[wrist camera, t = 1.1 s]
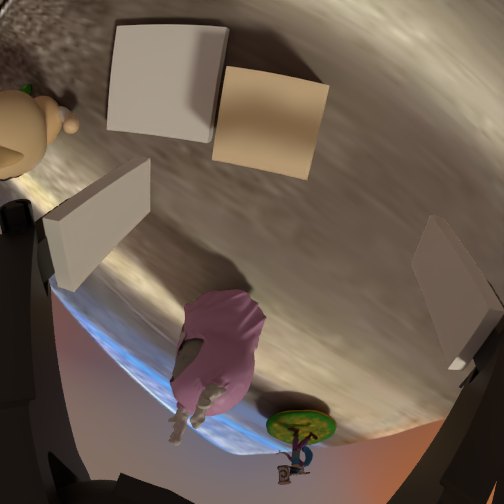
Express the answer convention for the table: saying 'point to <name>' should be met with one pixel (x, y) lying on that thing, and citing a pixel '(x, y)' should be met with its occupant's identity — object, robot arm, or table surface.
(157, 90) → the grey tile
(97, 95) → the table surface
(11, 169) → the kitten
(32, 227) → the robot arm
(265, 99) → the maple brick
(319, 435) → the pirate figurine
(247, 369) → the toy character
